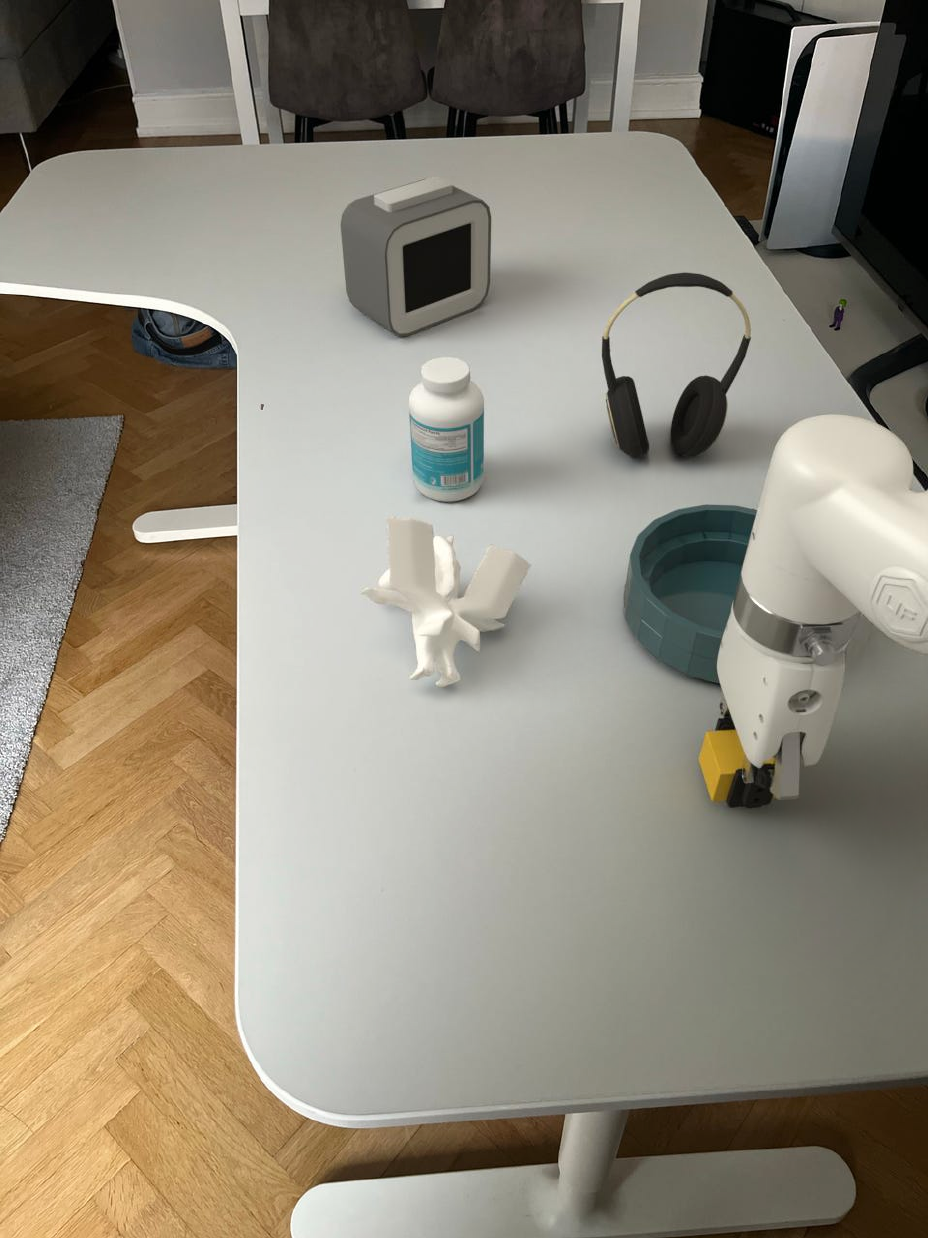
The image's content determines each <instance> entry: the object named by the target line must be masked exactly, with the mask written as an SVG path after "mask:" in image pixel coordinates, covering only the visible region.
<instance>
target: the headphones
mask: <svg viewBox="0 0 928 1238" xmlns="http://www.w3.org/2000/svg"><path fill="white" fill-rule="evenodd" d="M676 287H677V288H681V287H682V288H705V289H708V290H711V291H715V292H718V293H720V294H722V295H723V296H725V297H727V298H729V299H730V300H732V301H733V303H735V305H736V306H737V307H738V309H739V311H740V312H741V315H742V317H743V320H744V325H745V330H744V334H743V337H742V339H741V342H740V345H739V348H738V350H737V353H736V355H735V357H734V358H733V360H732V362H731V364H730V366H729V367H728V369H727V370H726V372H725V373H724V375H723V376H722V378H721V380H718V379H717V378H716V377H713V376H710V375H705V374H704V375H699V376H697V377H695V378H694V379H692V380H691V381H690V382H689V383H688V384H687V385H686V386H685V387H684V390H683V391H682V393H681V395H680V397H679V399H678V400H677V403H676V406H675V409H674V412H673V415H672V419H671V424H670V442H671V446H672V448H673V450H674V451H675V453H678V455H681V456H682V457H686V458H695V457H697V456H700V455H701V454H703V453H704V452H706V451H707V450H709V449H710V448H711V447H713V446H714V444H715V443H716V442H717V440H718V439H719V437H720V435H721V433H722V431H723V430H724V429H723V428H724V427H725V423H726V419H727V415H728V409H729V408H728V407H729V402H728V397H727V393H728V392H729V390H730V388H731V386H732V384H733V382H734V380H735V378H736V377H737V375H738V373H739V371H740V369H741V367H742V364H743V362H744V360H745V359H746V356H747V352H748V349H749V346H750V343H751V339H752V336H751V331H752V330H751V329H752V328H751V321H750V317H749V314H748V312H747V310H746V308H745V307H744V305H743V303H742V302H741V301H740V299H739V298H738V297H737V296H736V295H735V294H734V292H733V290H732V289H731V288H730V287H728V286H727V285H725V284H724V283H723V282H722V281H720V280H717V279H715V278H713V277H711V276H709V275H704V274H702V273H696V272H695V273H694V272H685V271H684V272H675V273H669V274H666V275H662V276H660V277H658V278H655V279H652V280H651V281H648V282H646V283H645V284H644V285H643V286H642V285H641V287H639V288H637V290H635V292H634V293H633V294H632V295H631V296H629V297H628V298H626V300H625V301H623V302H622V303H621V304H620V305H619V306H618V307H617V308H616V309H615V311H614V312H613V313H612V315H611V316H610V318H609V319H608V322H607V324H606V325H605V329H604V332H603V335H602V337H601V360H602V366H603V373H604V377H605V381H606V386H607V391H606V393H605V403H606V404H605V405H606V411H607V415H608V416H607V417H608V421H609V424H610V428H611V433H612V436H613V439H614V441H615V444H616V446H617V448H618V450H619V451H621V452H623V453H624V454H625V455H627V456H629V457H631V458H639V457H643V456H644V455H646V454H647V453H649V450H650V443H649V437H648V435H647V434H648V433H647V430H646V425H645V421H644V416H643V413H642V412H643V411H642V408H641V404H640V400H639V396H638V392H637V387H636V382H635V380H634V378H632V377H631V376H628V375H621V376H618V377H616V374H615V373H616V372H615V370H614V367H613V363H612V356H611V345H610V344H611V342H610V341H611V340H610V331H611V329H612V327H613V325H614V323H615V321H616V319H617V318H618V316H619V315H620V314H621V313H622V312H623V311H624V309H626V308H627V307H628V306H629V305H630V304H631V303H632V302H634V301H635V300H637V299H638V298H642V297H644V296H645V295H648V294H651V293H654V292H657V291H661V290H665V289H668V288H676Z"/></svg>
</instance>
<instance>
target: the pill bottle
mask: <svg viewBox="0 0 928 1238" xmlns="http://www.w3.org/2000/svg"><path fill="white" fill-rule="evenodd" d="M420 370H421V371H420V382H418V383H417V385H416V386H414V387H413V389H412V390H411V392H410V394H409V397H408V417H409V433H410V434H409V436H410V452H411V453H410V454H411V466H412V481H413V484H414V486H415V488H416V490H418V492H419V493H420V494H421V495H423V496H425V497H426V498H429V499H430V500H434V501H438V502H457V501H461V500H465V499H467V498H469V497H472V496H473V495H475V494H476V493H477V492H478V491H479V490H480V488H481V487H482V486H483V483H484V478H485V399H484V398H485V397H484V395H483V392H482V390H481V388H480V387H479V386H478V385H477V384H476V383H475V382H473V381H472V380H471V370H470V365H469V364H468V363H467V362H466V361H465V360H462V359H461V358H457V357H453V356H452V357H451V356H440V357H436V358H433V359H430V360H428V361H426V362H425V363H424V364H423V365H422V366H421V368H420Z"/></svg>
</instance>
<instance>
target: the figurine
mask: <svg viewBox="0 0 928 1238" xmlns="http://www.w3.org/2000/svg"><path fill="white" fill-rule="evenodd" d="M385 520H386V523H387V527H386V536H387V549H386V550H387V556H388V557H387V558H388V559H387V560H388V568H387V569H386V571H385V572H384V573H382V575H381V576H380V578H379V579H378V587H371V586H367V587H366V588H363V589H362V591H361V592H360V593H361V595H364V596H366V597H368V598H369V599H370V600H371V601H372V602H374V603H376V604H379V605H387V604H388V605H393V606H395V608H401V609H404V610H405V611H408V612H409V613H411V623H412V624H411V627H412V632H413V638H414V643H415V656H416V661H417V662H416V663H417V667H416V669H415V670H414V672H413V673H412V675H410V676H409V679H410V680H412V681H418V680H421V679H423V678H425V677H430V676H433V675H434V674H435V673H436V670H437V669H438V671H439V672H440V675H441V677H440V678H439V680H438V681H436V682H435V685H437V686H439V687H447V686H449V685H451V684H454V683H456V682H458V681H459V680H460V679H461V675H460V673H459V672H458V669H457V667H456V665H455V660H454V658H455V657H454V656H455V655H454V653H455V649H456V646H457V644H458V642H459V641H464V642H465V643H466V644H468V645H469V646H471V647H472V648H473V649H474V650H476V651H478V652H480V651H481V633H480V632H483V633H485V632H490V631H496V630H499V629H502V628H504V627H505V626H506V624H505V623H504V624H503V623H501V622H499V621H497V620H498V619H505V617H506V616H507V614H508V611H509V608H510V607H511V605H512V603H513V602H514V600H515V598H516V596H517V594H518V592H519V591H520V589H521V585H522V583H523V582H524V580H525V578H526V576H527V574H528V571H529V569H530V567H532V564H530V563H529V562H528V561H527V560H526V559H524V558H523V557H522V556H520V555H519V554H518V553H517V552H514V551H511V550H509V549H506V548H504V547H500V546H497V545H494V544H490V545H489V546H488V548H487V549H486V551H485V552H484V557H483V558H482V560H481V562H480V563H479V565H478V567H477V569H476V570H475V573H474V574H473V576H472V577H471V581H470V582H469V584H468V586H467V588H466V590H465V592H464V595H463V597H459V591H460V586H461V565H460V562H459V561H458V559H457V555H456V551H455V549H454V546H453V544H454V537H455V535H450V536H448V537H446V538H445V537H444V536H442V535H435V534H434V526H433V524H432V523H431V524H430V523H428V522H425V521H422V520H419V519H415V518H410V517H387V516H386V517H385ZM458 597H459V598H458ZM436 667H437V669H436Z"/></svg>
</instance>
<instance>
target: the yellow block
mask: <svg viewBox="0 0 928 1238" xmlns="http://www.w3.org/2000/svg"><path fill="white" fill-rule="evenodd" d="M744 756H745V752H744V750H743V747H742V744H741V742H740V739H739V736H738V734H737V731H736V730H718V731H715V730H707V731H705V735H704V738H703V742H702V746H701V750H700V752H699V757H698V762H699V765H700V769H701V771H702V775H703V778H704V781H705V785H706V788H707V791H708V794H709V797H710V800H711V802H712V803H715V802H727V796H728V793H729V790H730V787H731V784H732V781H733V778H734V775H735V772H736V770H737V769H741V768H742V766H743V761H744ZM773 762H774V757H772V758H771V759H770V760H769V761H764V764H767V763H771V764H773ZM773 798H776V797H775V796H774V795H773ZM773 798H772V799H773Z"/></svg>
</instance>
